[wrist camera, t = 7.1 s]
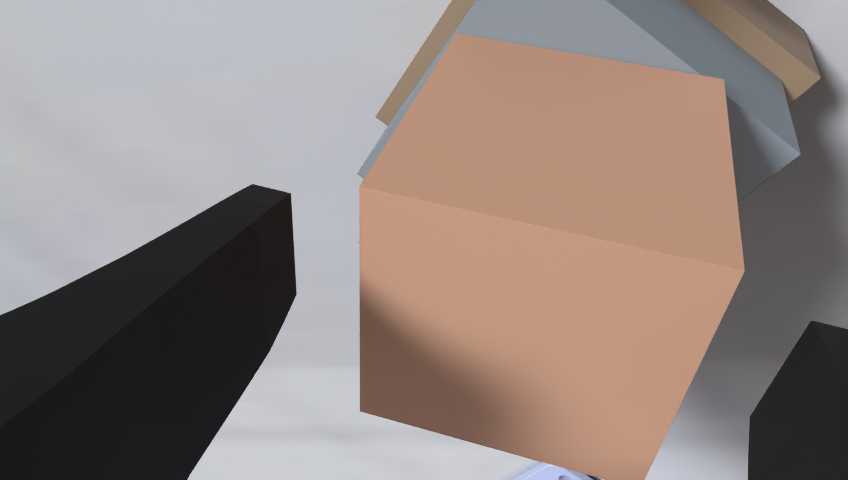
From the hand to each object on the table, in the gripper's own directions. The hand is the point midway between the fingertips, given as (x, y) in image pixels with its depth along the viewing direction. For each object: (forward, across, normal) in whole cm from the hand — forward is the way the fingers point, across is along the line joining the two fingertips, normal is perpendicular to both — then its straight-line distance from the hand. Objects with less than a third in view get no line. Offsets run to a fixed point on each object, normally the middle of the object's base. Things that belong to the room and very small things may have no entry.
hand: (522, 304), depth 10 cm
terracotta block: (+4, 0, 0) cm, 4 cm away
